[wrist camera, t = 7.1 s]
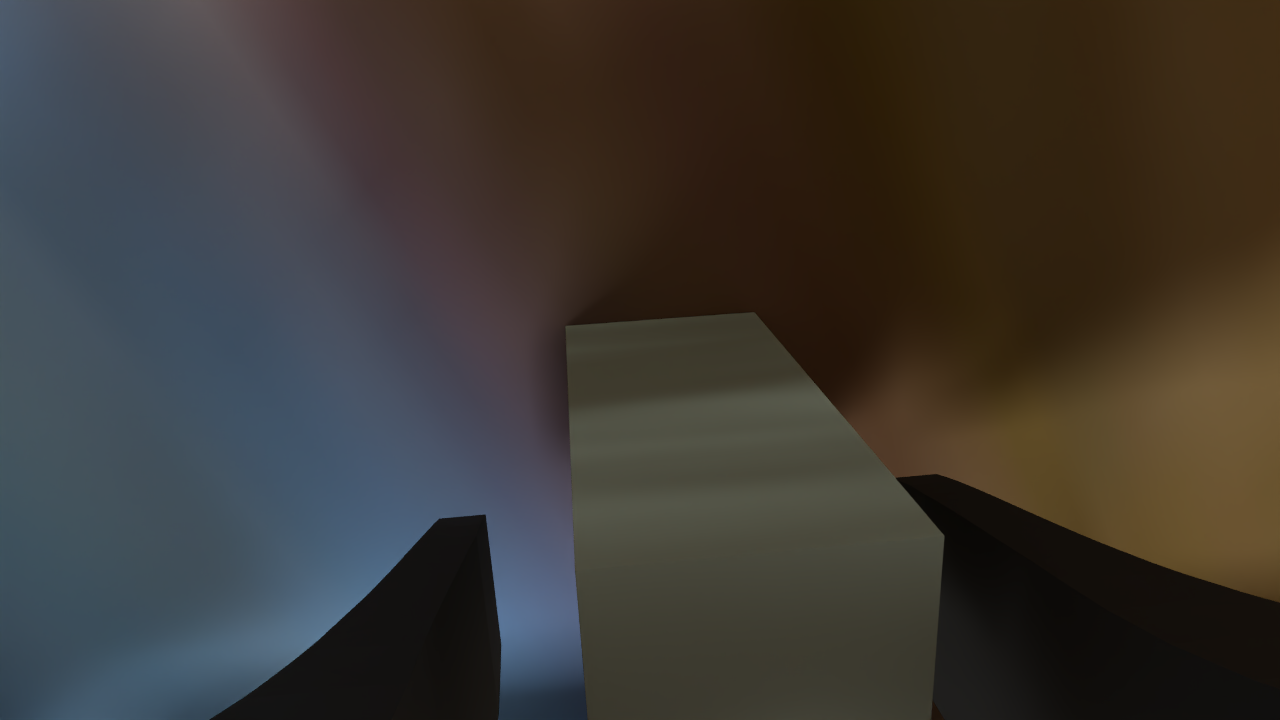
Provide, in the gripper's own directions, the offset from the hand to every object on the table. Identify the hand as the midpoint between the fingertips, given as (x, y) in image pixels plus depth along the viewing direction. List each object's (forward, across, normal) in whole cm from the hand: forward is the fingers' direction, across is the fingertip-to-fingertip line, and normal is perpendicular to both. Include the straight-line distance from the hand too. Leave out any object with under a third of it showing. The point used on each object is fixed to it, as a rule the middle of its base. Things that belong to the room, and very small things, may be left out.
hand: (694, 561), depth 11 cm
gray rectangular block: (+3, 0, +8) cm, 9 cm away
